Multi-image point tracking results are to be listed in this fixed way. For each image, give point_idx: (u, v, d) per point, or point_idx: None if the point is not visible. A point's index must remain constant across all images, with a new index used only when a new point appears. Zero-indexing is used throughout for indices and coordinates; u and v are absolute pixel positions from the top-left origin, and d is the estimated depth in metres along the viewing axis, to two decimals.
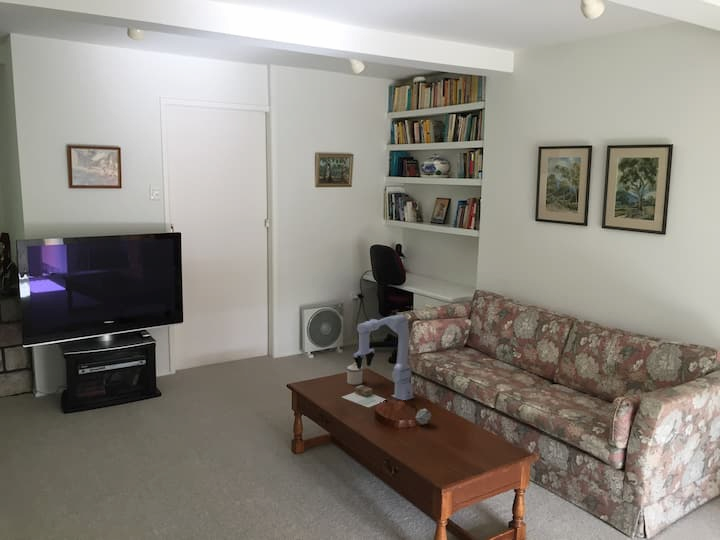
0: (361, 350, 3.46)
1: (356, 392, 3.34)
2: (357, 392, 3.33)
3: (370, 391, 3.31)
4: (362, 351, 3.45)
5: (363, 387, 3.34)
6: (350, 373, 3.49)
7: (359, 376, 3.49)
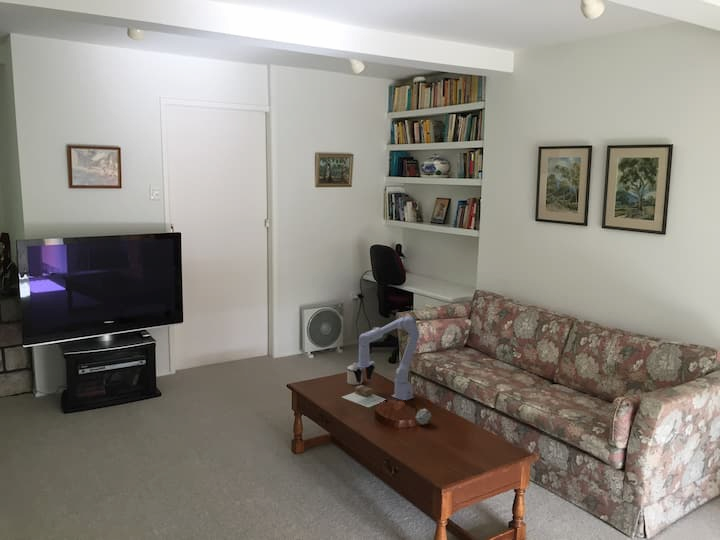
0: (361, 363, 3.28)
1: (356, 392, 3.34)
2: (357, 392, 3.33)
3: (370, 391, 3.31)
4: (362, 364, 3.28)
5: (363, 387, 3.34)
6: (350, 373, 3.49)
7: None
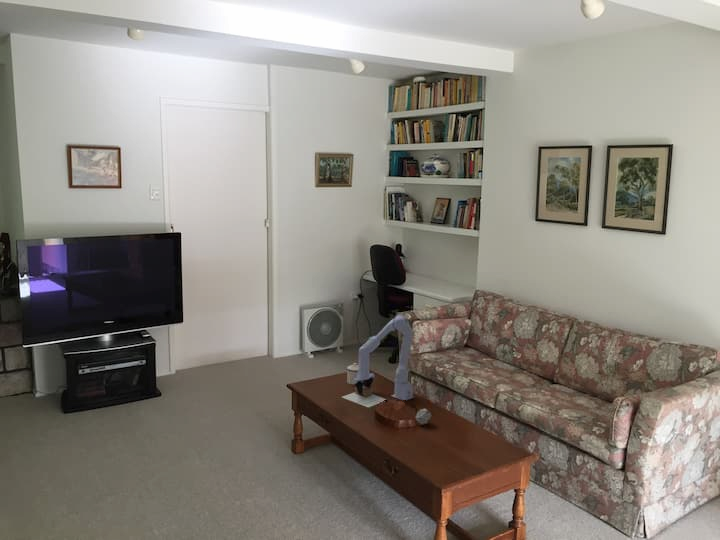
0: (361, 375, 3.30)
1: (356, 392, 3.34)
2: (357, 392, 3.33)
3: (370, 391, 3.31)
4: (362, 376, 3.29)
5: (363, 387, 3.34)
6: (350, 373, 3.49)
7: None
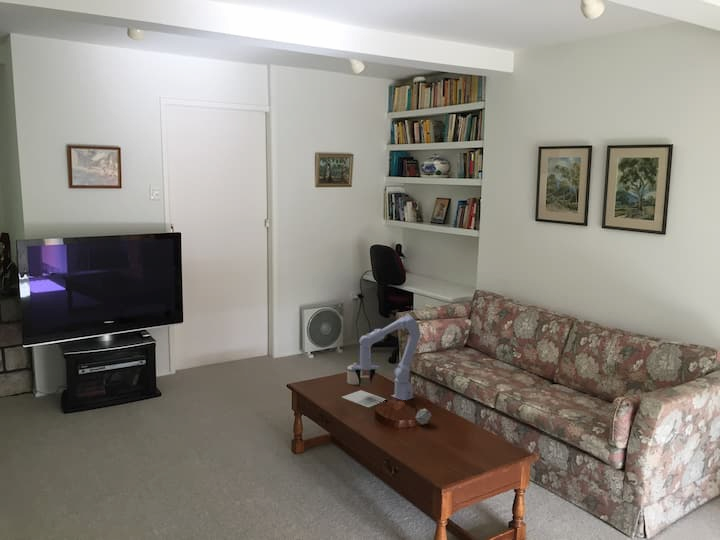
0: (360, 364, 3.26)
1: None
2: None
3: (367, 383, 3.24)
4: (360, 365, 3.25)
5: (366, 378, 3.29)
6: (350, 373, 3.49)
7: None
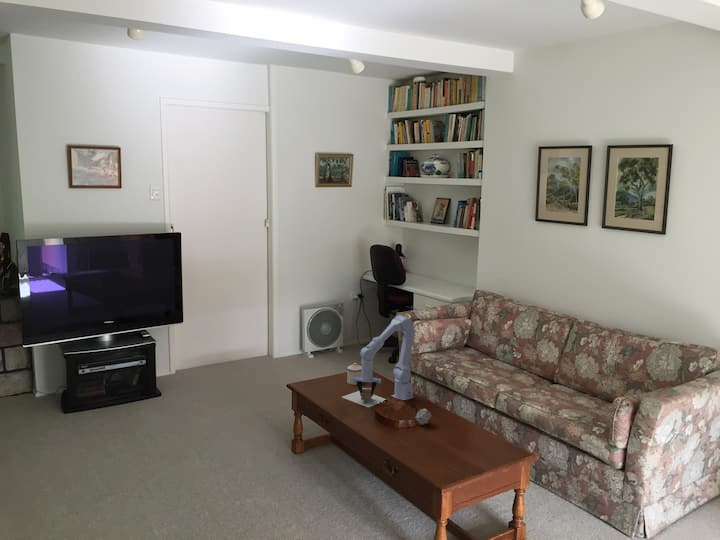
0: (361, 376, 3.22)
1: None
2: None
3: (368, 395, 3.19)
4: (361, 377, 3.21)
5: (368, 390, 3.24)
6: (350, 373, 3.49)
7: (359, 376, 3.49)
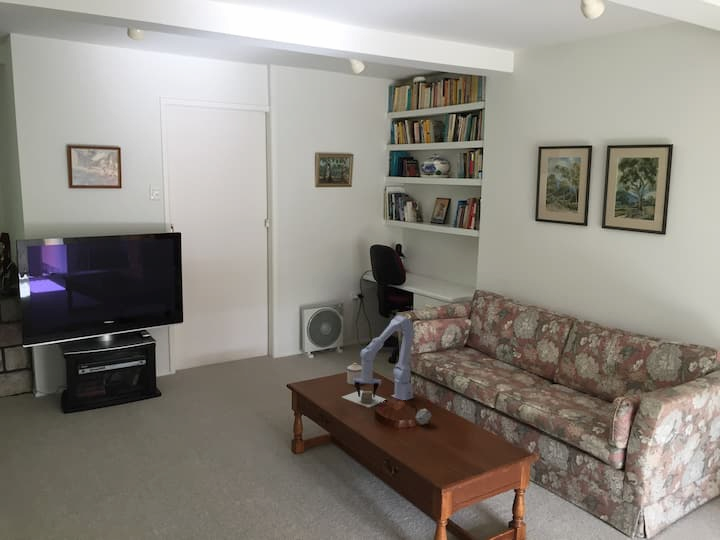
0: (361, 377, 3.22)
1: None
2: None
3: (368, 399, 3.20)
4: (361, 378, 3.21)
5: (368, 393, 3.24)
6: (350, 373, 3.49)
7: (359, 376, 3.49)
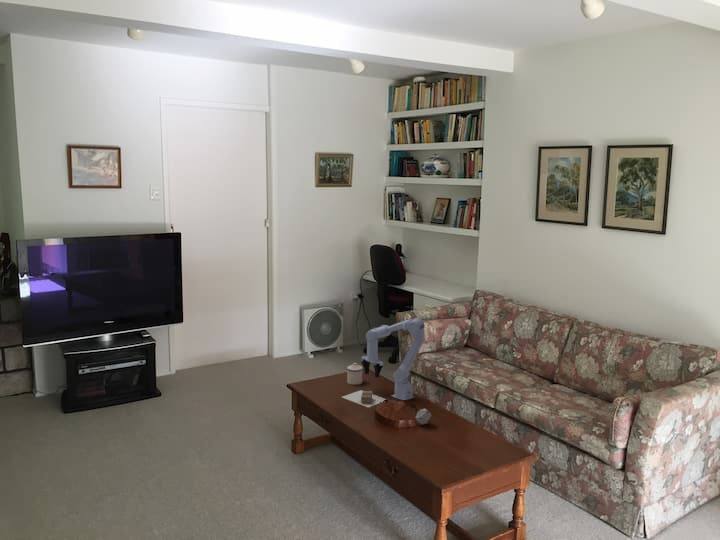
0: None
1: None
2: None
3: (368, 399, 3.20)
4: None
5: (368, 393, 3.24)
6: (350, 373, 3.49)
7: (359, 376, 3.49)
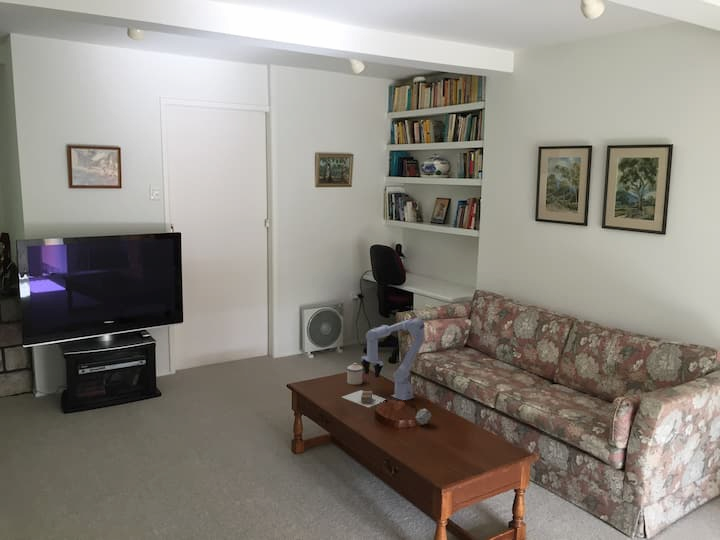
0: None
1: None
2: None
3: (368, 399, 3.20)
4: None
5: (368, 393, 3.24)
6: (350, 373, 3.49)
7: (359, 376, 3.49)
